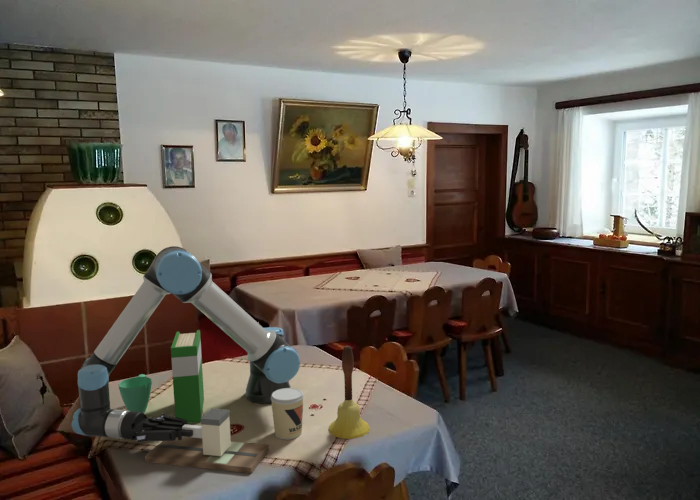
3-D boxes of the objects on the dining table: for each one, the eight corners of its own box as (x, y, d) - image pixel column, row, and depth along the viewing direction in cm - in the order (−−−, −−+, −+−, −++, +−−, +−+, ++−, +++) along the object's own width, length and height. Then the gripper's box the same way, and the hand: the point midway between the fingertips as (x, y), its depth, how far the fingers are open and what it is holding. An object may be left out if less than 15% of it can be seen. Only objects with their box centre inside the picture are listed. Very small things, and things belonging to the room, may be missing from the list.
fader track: (145, 461, 143) (144, 456, 143) (169, 440, 155) (169, 434, 154) (251, 473, 136) (251, 467, 136) (269, 449, 148) (268, 444, 148)
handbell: (337, 442, 151) (335, 356, 148) (322, 424, 163) (319, 343, 159) (377, 433, 156) (376, 349, 153) (359, 416, 167) (358, 337, 164)
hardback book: (181, 401, 181) (176, 331, 178) (204, 399, 183) (200, 329, 180) (175, 424, 164) (170, 348, 161) (201, 421, 166) (196, 346, 162)
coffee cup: (291, 444, 151) (289, 402, 149) (265, 436, 156) (263, 396, 154) (311, 430, 159) (309, 391, 157) (285, 423, 164) (284, 385, 162)
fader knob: (202, 454, 142) (200, 418, 141) (213, 443, 148) (211, 408, 147) (221, 456, 141) (219, 420, 140) (231, 444, 147) (229, 409, 146)
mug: (150, 417, 169) (148, 386, 168) (117, 420, 168) (114, 389, 167) (159, 398, 184) (157, 370, 182) (129, 401, 182) (126, 372, 181)
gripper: (142, 427, 156) (217, 434, 151) (113, 449, 143) (194, 458, 138) (140, 402, 155) (216, 408, 150) (111, 422, 142) (192, 430, 137)
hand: (205, 432), depth 144 cm, fingers closed
